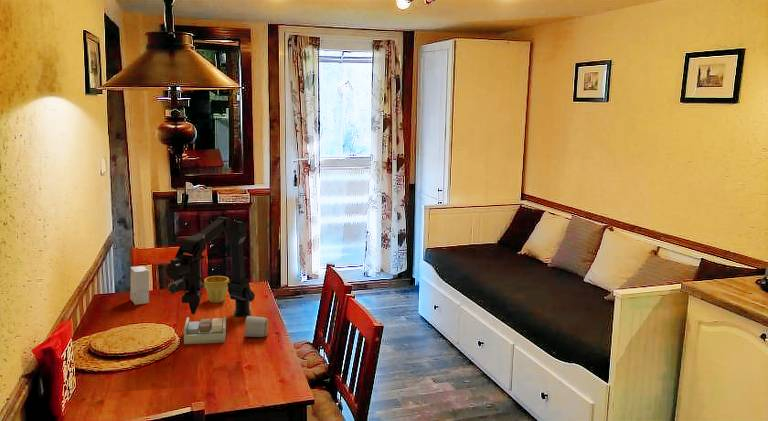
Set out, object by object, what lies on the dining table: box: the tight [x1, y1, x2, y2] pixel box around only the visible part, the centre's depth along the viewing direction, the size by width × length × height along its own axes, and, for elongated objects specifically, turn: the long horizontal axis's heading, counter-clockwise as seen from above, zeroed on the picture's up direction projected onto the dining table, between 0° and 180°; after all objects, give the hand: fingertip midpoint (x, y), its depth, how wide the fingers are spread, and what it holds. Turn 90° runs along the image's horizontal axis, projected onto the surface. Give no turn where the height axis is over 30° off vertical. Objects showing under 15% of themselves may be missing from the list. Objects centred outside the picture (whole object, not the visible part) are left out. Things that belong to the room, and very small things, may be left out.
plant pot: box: [203, 275, 230, 304], centre depth 262 cm, size 10×10×10 cm
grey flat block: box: [188, 320, 201, 335], centre depth 220 cm, size 8×4×2 cm, turn 13°
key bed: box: [183, 315, 227, 345], centre depth 221 cm, size 13×14×6 cm
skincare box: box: [129, 265, 150, 306], centre depth 257 cm, size 8×6×15 cm
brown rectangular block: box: [200, 318, 212, 333], centre depth 221 cm, size 8×4×2 cm, turn 13°
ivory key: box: [211, 317, 224, 332], centre depth 222 cm, size 8×4×2 cm, turn 13°
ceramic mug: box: [244, 315, 270, 338], centre depth 225 cm, size 11×8×8 cm
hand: (193, 314), depth 219 cm, fingers closed
